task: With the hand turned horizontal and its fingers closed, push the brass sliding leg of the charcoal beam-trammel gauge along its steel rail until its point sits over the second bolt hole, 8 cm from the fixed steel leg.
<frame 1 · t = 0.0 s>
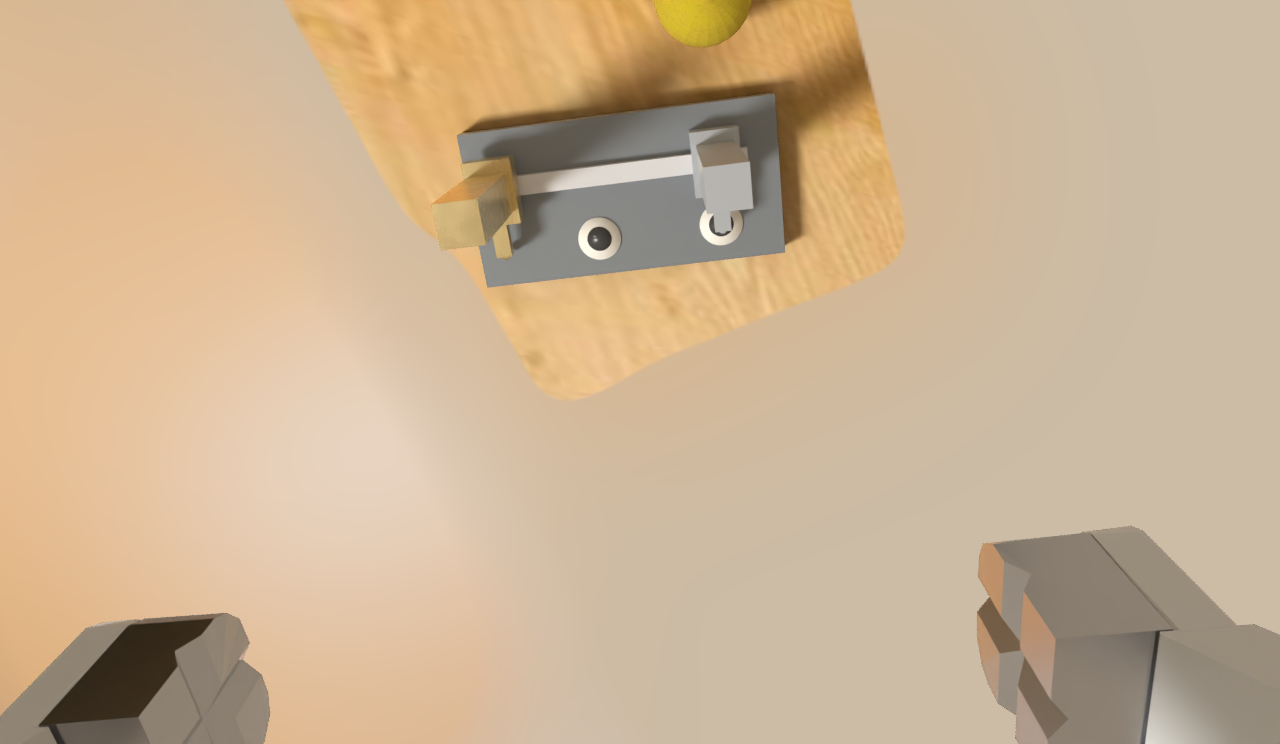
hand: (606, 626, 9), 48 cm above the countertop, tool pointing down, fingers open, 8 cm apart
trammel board: (625, 191, 55), on the countertop
brass leg: (483, 225, 48), point 8 cm above the countertop, slide at 0.0 cm
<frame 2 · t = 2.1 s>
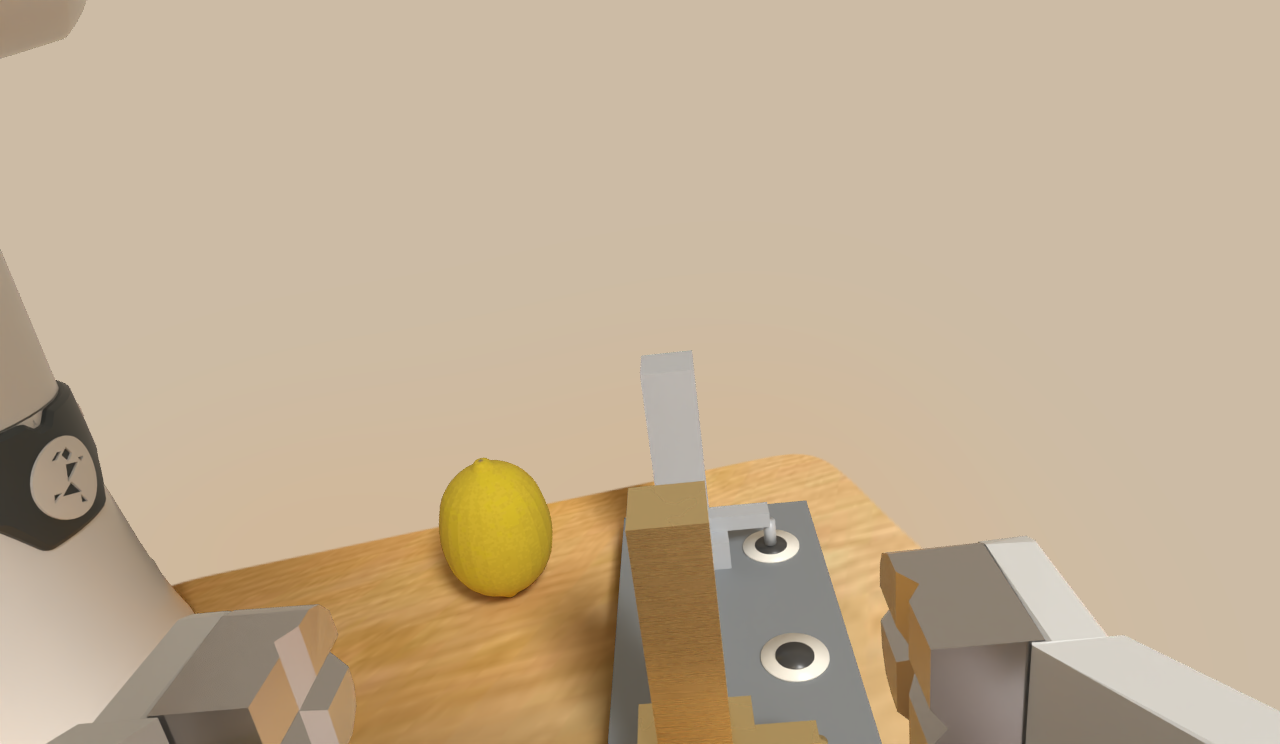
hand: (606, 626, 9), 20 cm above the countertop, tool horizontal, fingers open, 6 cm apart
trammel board: (731, 657, 37), on the countertop
lemon: (511, 598, 43), on the countertop
brass leg: (722, 647, 27), point 7 cm above the countertop, slide at 0.0 cm
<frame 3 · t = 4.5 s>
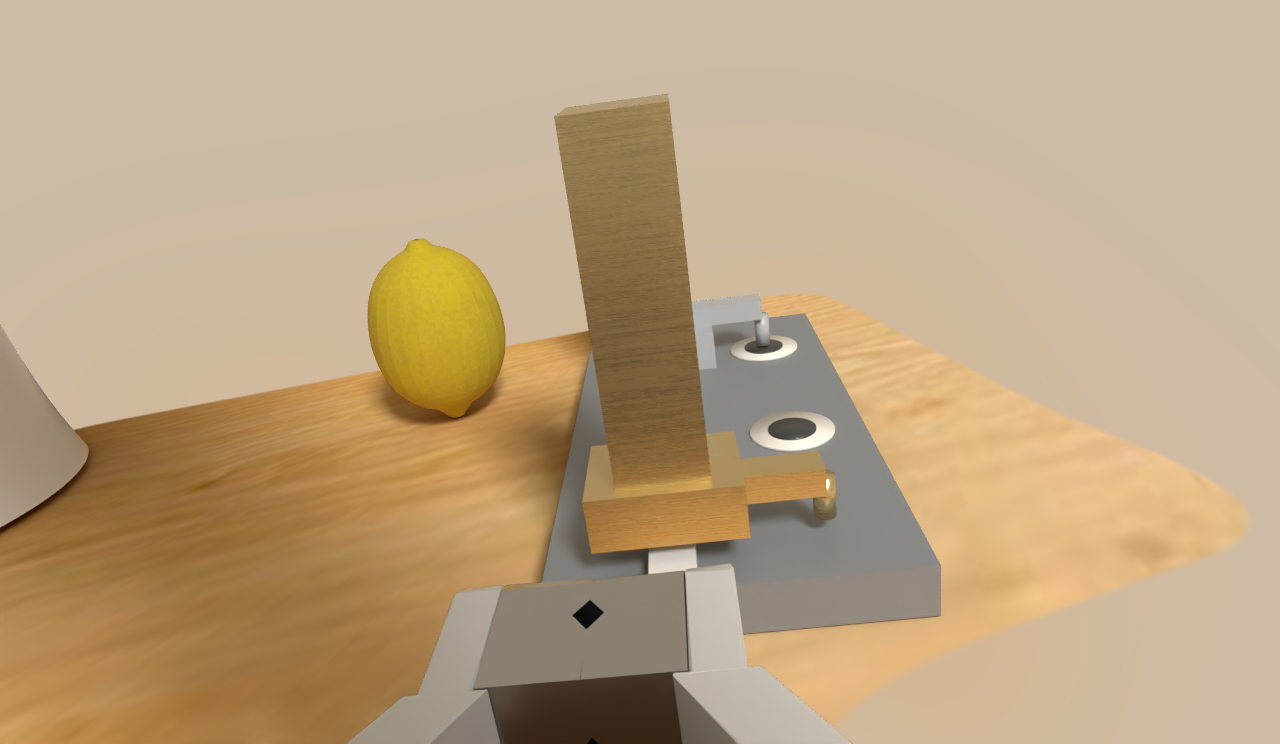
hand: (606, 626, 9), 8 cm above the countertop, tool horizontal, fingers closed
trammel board: (715, 452, 30), on the countertop
lemon: (458, 420, 37), on the countertop
brass leg: (694, 332, 20), point 8 cm above the countertop, slide at 0.0 cm
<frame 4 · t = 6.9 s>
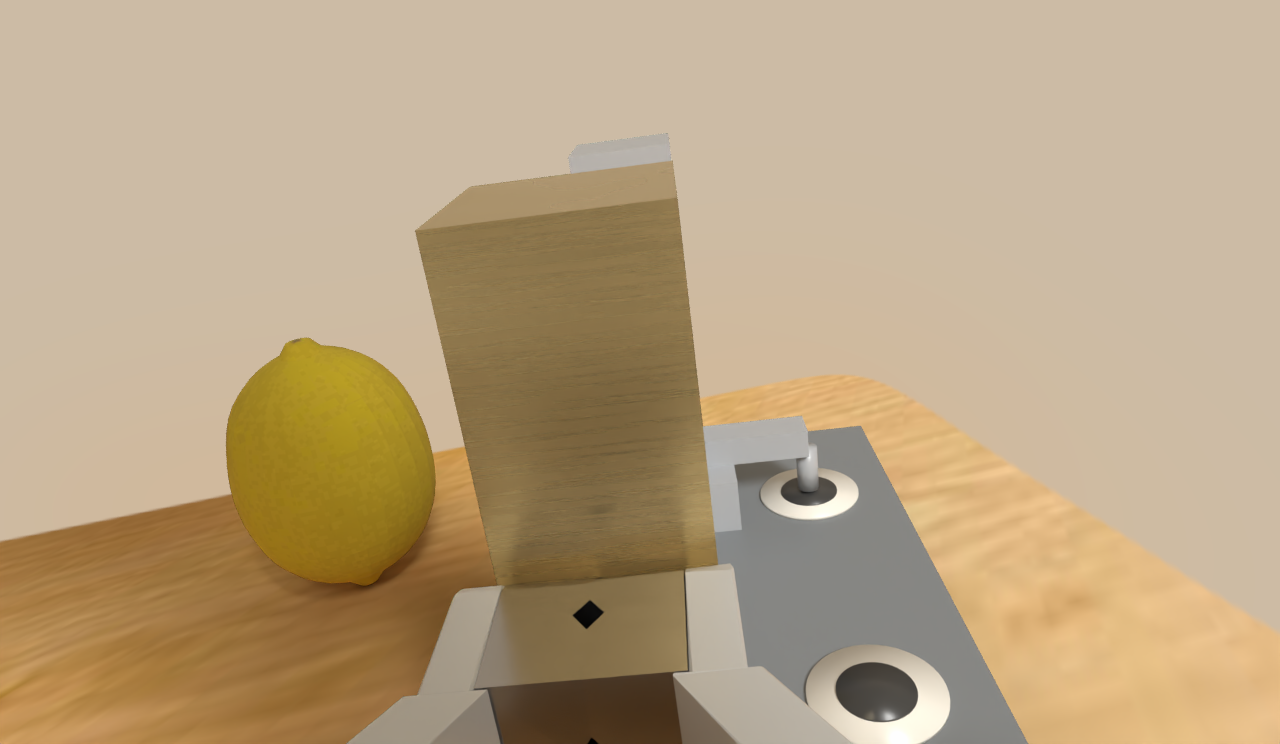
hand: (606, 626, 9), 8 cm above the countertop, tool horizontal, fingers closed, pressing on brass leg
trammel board: (744, 692, 19), on the countertop
lemon: (370, 587, 26), on the countertop
brass leg: (723, 613, 11), point 7 cm above the countertop, slide at 1.4 cm, touching gripper
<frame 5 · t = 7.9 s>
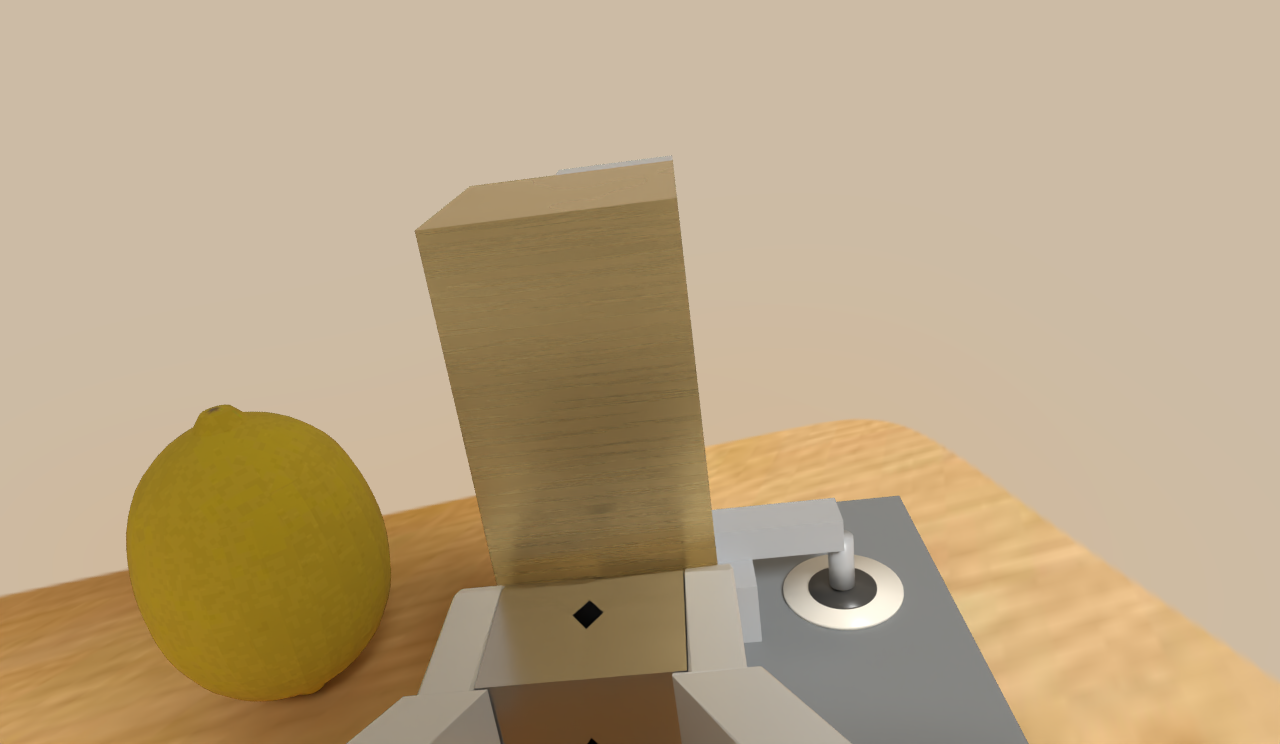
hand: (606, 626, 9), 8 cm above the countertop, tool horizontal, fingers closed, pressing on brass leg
lemon: (315, 694, 22), on the countertop
brass leg: (723, 612, 11), point 8 cm above the countertop, slide at 6.0 cm, touching gripper
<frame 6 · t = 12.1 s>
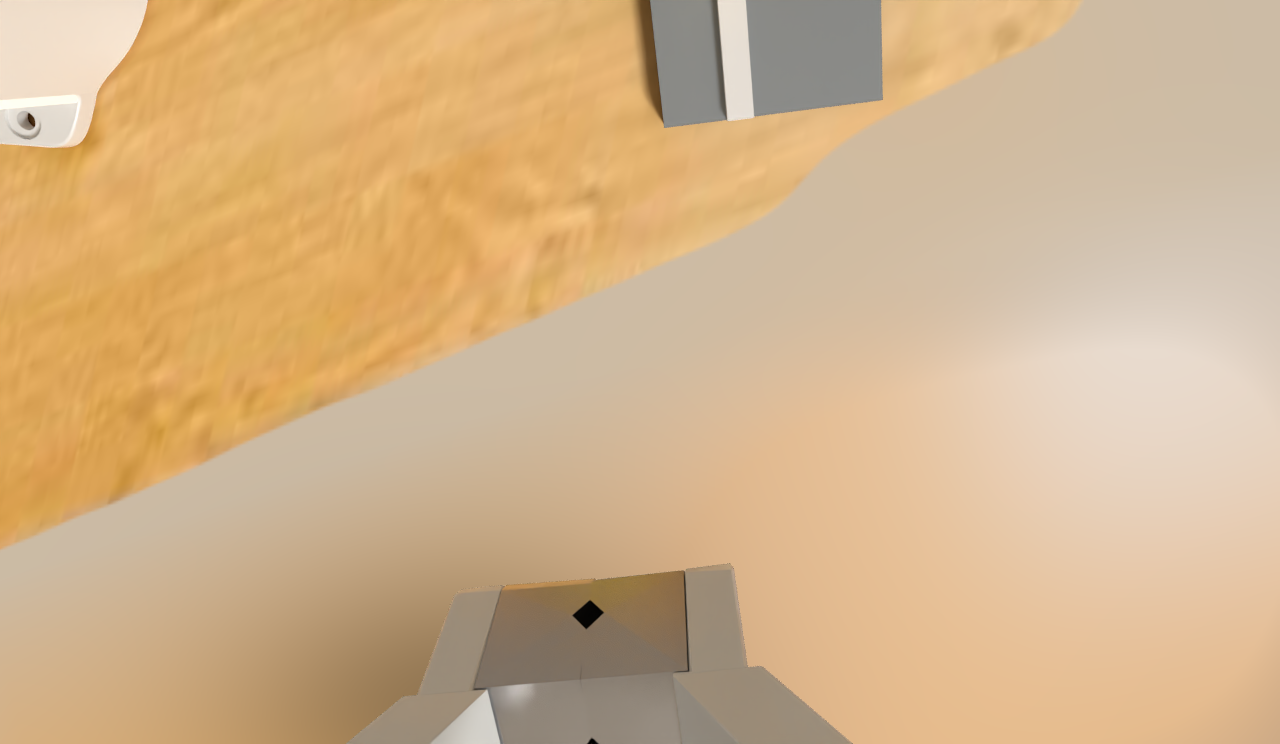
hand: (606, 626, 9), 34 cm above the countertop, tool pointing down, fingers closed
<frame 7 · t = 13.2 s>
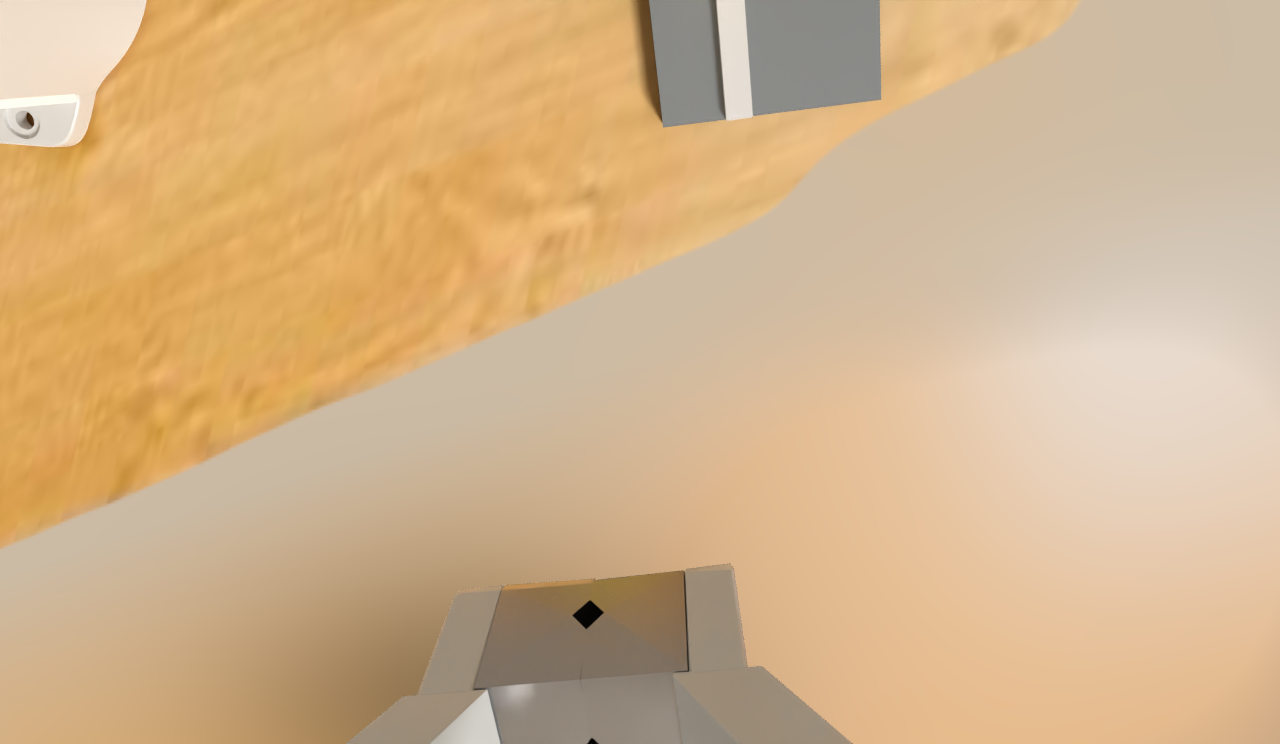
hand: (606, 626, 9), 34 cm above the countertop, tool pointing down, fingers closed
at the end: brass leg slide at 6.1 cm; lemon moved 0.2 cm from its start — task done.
